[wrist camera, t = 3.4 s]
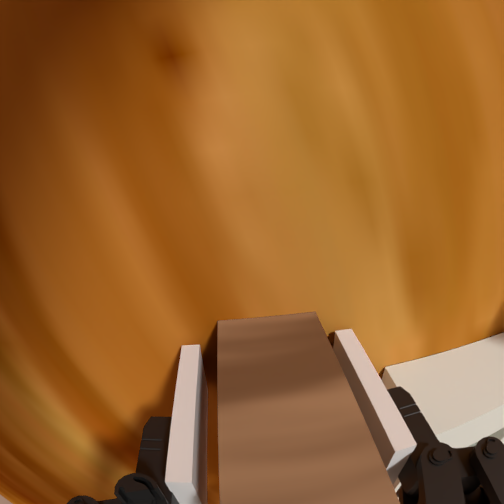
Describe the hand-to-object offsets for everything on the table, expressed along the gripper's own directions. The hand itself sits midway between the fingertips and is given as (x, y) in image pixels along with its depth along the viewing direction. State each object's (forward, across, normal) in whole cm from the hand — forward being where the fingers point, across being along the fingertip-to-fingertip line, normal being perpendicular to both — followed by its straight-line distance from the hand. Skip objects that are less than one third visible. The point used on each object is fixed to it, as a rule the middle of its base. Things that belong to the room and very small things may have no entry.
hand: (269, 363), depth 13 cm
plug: (0, 0, 0) cm, 0 cm away
